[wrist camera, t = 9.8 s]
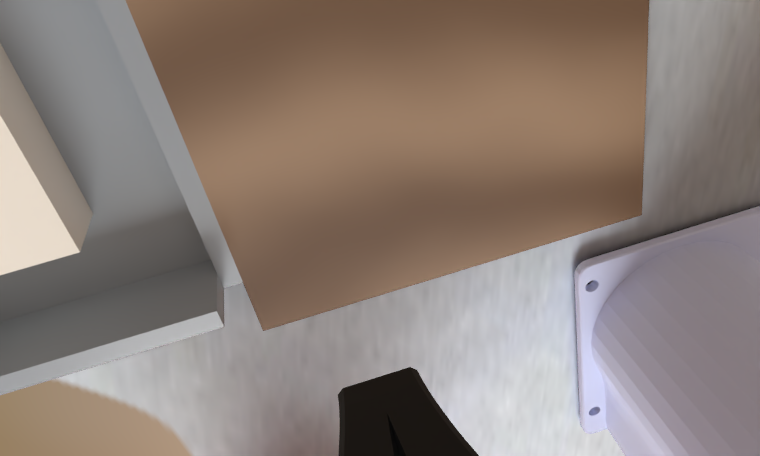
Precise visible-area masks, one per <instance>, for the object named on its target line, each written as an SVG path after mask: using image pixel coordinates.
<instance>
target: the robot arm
mask: <svg viewBox="0 0 760 456" xmlns="http://www.w3.org/2000/svg"><path fill="white" fill-rule="evenodd" d="M574 276H575V301H576V326H577V352H578V377H579V403H580V424H581V427H582V428H583V430H584V431H585V432H586V433H590V434H592V433H596V432H599V431H602V430H605V429H608V430H609V432H610V433H611V435H612V436H613V438H614V439H615V441H616V442H617V444H618V445H619V447H620V448H621V450H622V451H623V453H624V454H625V456H760V206H758V207H754V208H751V209H748V210H745V211H742V212H738V213H735V214H732V215H729V216H725V217H722V218H719V219H716V220H712V221H709V222H706V223H703V224H700V225H696V226H693V227H690V228H687V229H683V230H680V231H677V232H674V233H671V234H667V235H664V236H661V237H658V238H654V239H651V240H648V241H645V242H642V243H638V244H635V245H632V246H629V247H625V248H622V249H619V250H616V251H612V252H609V253H606V254H603V255H600V256H596V257H593V258H590V259H587V260H585V261H583V262H581V263H580V264H579V265H578V266H577V268H576V269H575V274H574ZM592 280H593V281H592ZM590 281H592V282H591V283H590V284H589V285H587V284H588V282H590ZM338 399H339V410H340V439H339V456H479V455H478V454H477V453H476V452H475V451H474V449H473V448H472V447H471V446H470V445H469V444H468V442H467V441H466V440H465V439H464V438H463V437H462V435H461V434H460V433H459V432H458V430H457V429H456V428H455V427H454V425H453V424H452V423H451V421H450V420H449V419H448V417H447V416H446V415H445V413H444V412H443V411H442V409H441V408H440V407H439V405H438V404H437V402H436V401H435V399H434V398H433V396H432V395H431V393H430V392H429V390H428V389H427V387H426V385H425V384H424V382H423V380H422V379H421V377H420V375H419V373H418V371H417V370H416V369H413V368H411V367H409V368H406V369H403V370H400V371H396V372H393V373H390V374H387V375H384V376H381V377H377V378H374V379H371V380H368V381H365V382H362V383H358V384H355V385H352V386H349V387H346V388H343V389H342V390H341V392H340V393H339V394H338Z"/></svg>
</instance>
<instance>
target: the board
mask: <svg viewBox="0 0 760 456" xmlns="http://www.w3.org/2000/svg"><path fill="white" fill-rule="evenodd" d="M125 1H126V3H127V5H128V8H129V10H130V13H131V15H132V17H133V20H134V22H135V25H136V27H137V29H138V32H139V34H140V37H141V39H142V41H143V44H144V46H145V49H146V51H147V53H148V56H149V58H150V61H151V63H152V65H153V68H154V70H155V73H156V75H157V77H158V80H159V82H160V85H161V87H162V89H163V92H164V94H165V96H166V99H167V101H168V104H169V106H170V108H171V111H172V113H173V116H174V118H175V120H176V123H177V125H178V128H179V130H180V132H181V135H182V137H183V140H184V142H185V144H186V147H187V149H188V152H189V154H190V156H191V159H192V161H193V164H194V166H195V168H196V171H197V173H198V176H199V178H200V180H201V183H202V185H203V188H204V190H205V192H206V195H207V197H208V200H209V202H210V204H211V207H212V209H213V212H214V214H215V216H216V219H217V221H218V224H219V226H220V228H221V231H222V233H223V236H224V238H225V240H226V243H227V245H228V248H229V250H230V252H231V255H232V257H233V260H234V262H235V264H236V267H237V269H238V272H239V274H240V276H241V279H242V281H243V284H244V286H245V288H246V291H247V293H248V296H249V298H250V300H251V303H252V305H253V308H254V310H255V312H256V315H257V317H258V320H259V322H260V324H261V327H262V329H263V331H265V330H268V329H271V328H274V327H278V326H281V325H284V324H288V323H291V322H294V321H297V320H301V319H304V318H307V317H310V316H314V315H317V314H320V313H323V312H327V311H330V310H333V309H336V308H340V307H343V306H346V305H350V304H353V303H356V302H359V301H363V300H366V299H369V298H372V297H376V296H379V295H382V294H385V293H389V292H392V291H395V290H398V289H402V288H405V287H408V286H412V285H415V284H418V283H421V282H425V281H428V280H431V279H434V278H438V277H441V276H444V275H447V274H451V273H454V272H457V271H460V270H464V269H467V268H470V267H473V266H477V265H480V264H483V263H487V262H490V261H493V260H496V259H500V258H503V257H506V256H509V255H513V254H516V253H519V252H522V251H526V250H529V249H532V248H535V247H539V246H542V245H545V244H549V243H552V242H555V241H558V240H562V239H565V238H568V237H571V236H575V235H578V234H581V233H584V232H588V231H591V230H594V229H597V228H601V227H604V226H607V225H611V224H614V223H617V222H620V221H624V220H627V219H630V218H633V217H637V216H640V215H642V192H643V163H644V134H645V104H646V75H647V46H648V17H649V0H125Z"/></svg>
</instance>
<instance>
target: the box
mask: <svg viewBox="0 0 760 456" xmlns="http://www.w3.org/2000/svg"><path fill="white" fill-rule="evenodd" d="M0 43H1V45H2V47H3V49H4V51H5V53H6V54H7V56H8V58H9V60H10V62H11V64H12V65H13V67H14V69H15V71H16V73H17V75H18V76H19V78H20V80H21V82H22V84H23V86H24V88H25V89H26V91H27V93H28V95H29V97H30V99H31V100H32V102H33V104H34V106H35V108H36V110H37V111H38V113H39V115H40V117H41V119H42V121H43V122H44V124H45V126H46V128H47V130H48V132H49V134H50V135H51V137H52V139H53V141H54V143H55V145H56V146H57V148H58V150H59V152H60V154H61V156H62V157H63V159H64V161H65V163H66V165H67V167H68V168H69V170H70V172H71V174H72V176H73V178H74V180H75V181H76V183H77V185H78V187H79V189H80V191H81V192H82V194H83V196H84V198H85V200H86V202H87V203H88V205H89V207H90V209H91V211H92V213H93V215H92V218H91V221H90V224H89V227H88V230H87V233H86V236H85V239H84V242H83V245H82V248H81V251H80V252H79V253H76V254H72V255H69V256H65V257H62V258H58V259H55V260H51V261H48V262H45V263H41V264H38V265H34V266H31V267H27V268H24V269H20V270H17V271H13V272H10V273H7V274H3V275H0V395H3V394H6V393H9V392H13V391H16V390H19V389H22V388H25V387H29V386H32V385H36V384H39V383H42V382H46V381H49V380H52V379H55V378H59V377H62V376H65V375H69V374H72V373H75V372H78V371H82V370H85V369H88V368H91V367H95V366H98V365H101V364H105V363H108V362H111V361H114V360H118V359H121V358H124V357H128V356H131V355H134V354H137V353H141V352H144V351H147V350H151V349H154V348H157V347H160V346H164V345H167V344H170V343H174V342H177V341H180V340H183V339H187V338H190V337H193V336H197V335H200V334H203V333H206V332H210V331H213V330H216V329H220V328H223V327H224V288H227V287H231V286H234V285H237V284H241V283H243V281H242V279H241V276H240V274H239V272H238V269H237V267H236V264H235V262H234V260H233V257H232V255H231V252H230V250H229V248H228V245H227V243H226V240H225V238H224V236H223V233H222V231H221V228H220V226H219V224H218V221H217V219H216V216H215V214H214V212H213V209H212V207H211V204H210V202H209V200H208V197H207V195H206V192H205V190H204V188H203V185H202V183H201V180H200V178H199V176H198V173H197V171H196V168H195V166H194V164H193V161H192V159H191V156H190V154H189V152H188V149H187V147H186V144H185V142H184V140H183V137H182V135H181V132H180V130H179V128H178V125H177V123H176V120H175V118H174V116H173V113H172V111H171V108H170V106H169V104H168V101H167V99H166V96H165V94H164V92H163V89H162V87H161V85H160V82H159V80H158V77H157V75H156V73H155V70H154V68H153V65H152V63H151V61H150V58H149V56H148V53H147V51H146V49H145V46H144V44H143V41H142V39H141V37H140V34H139V32H138V29H137V27H136V25H135V22H134V20H133V17H132V15H131V13H130V10H129V8H128V5H127V3H126V1H125V0H0Z"/></svg>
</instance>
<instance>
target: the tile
mask: <svg viewBox="0 0 760 456" xmlns="http://www.w3.org/2000/svg"><path fill="white" fill-rule="evenodd" d="M92 215H93V213H92V211H91V209H90V207H89V205H88V203H87V202H86V200H85V198H84V196H83V194H82V192H81V191H80V189H79V187H78V185H77V183H76V181H75V180H74V178H73V176H72V174H71V172H70V170H69V168H68V167H67V165H66V163H65V161H64V159H63V157H62V156H61V154H60V152H59V150H58V148H57V146H56V145H55V143H54V141H53V139H52V137H51V135H50V134H49V132H48V130H47V128H46V126H45V124H44V122H43V121H42V119H41V117H40V115H39V113H38V111H37V110H36V108H35V106H34V104H33V102H32V100H31V99H30V97H29V95H28V93H27V91H26V89H25V88H24V86H23V84H22V82H21V80H20V78H19V76H18V75H17V73H16V71H15V69H14V67H13V65H12V64H11V62H10V60H9V58H8V56H7V54H6V53H5V51H4V49H3V47H2V45H1V43H0V275H3V274H7V273H10V272H13V271H17V270H20V269H24V268H27V267H31V266H34V265H38V264H41V263H45V262H48V261H51V260H55V259H58V258H62V257H65V256H69V255H72V254H76V253H79V252H80V251H81V248H82V245H83V242H84V239H85V236H86V233H87V230H88V227H89V224H90V221H91V218H92Z"/></svg>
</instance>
